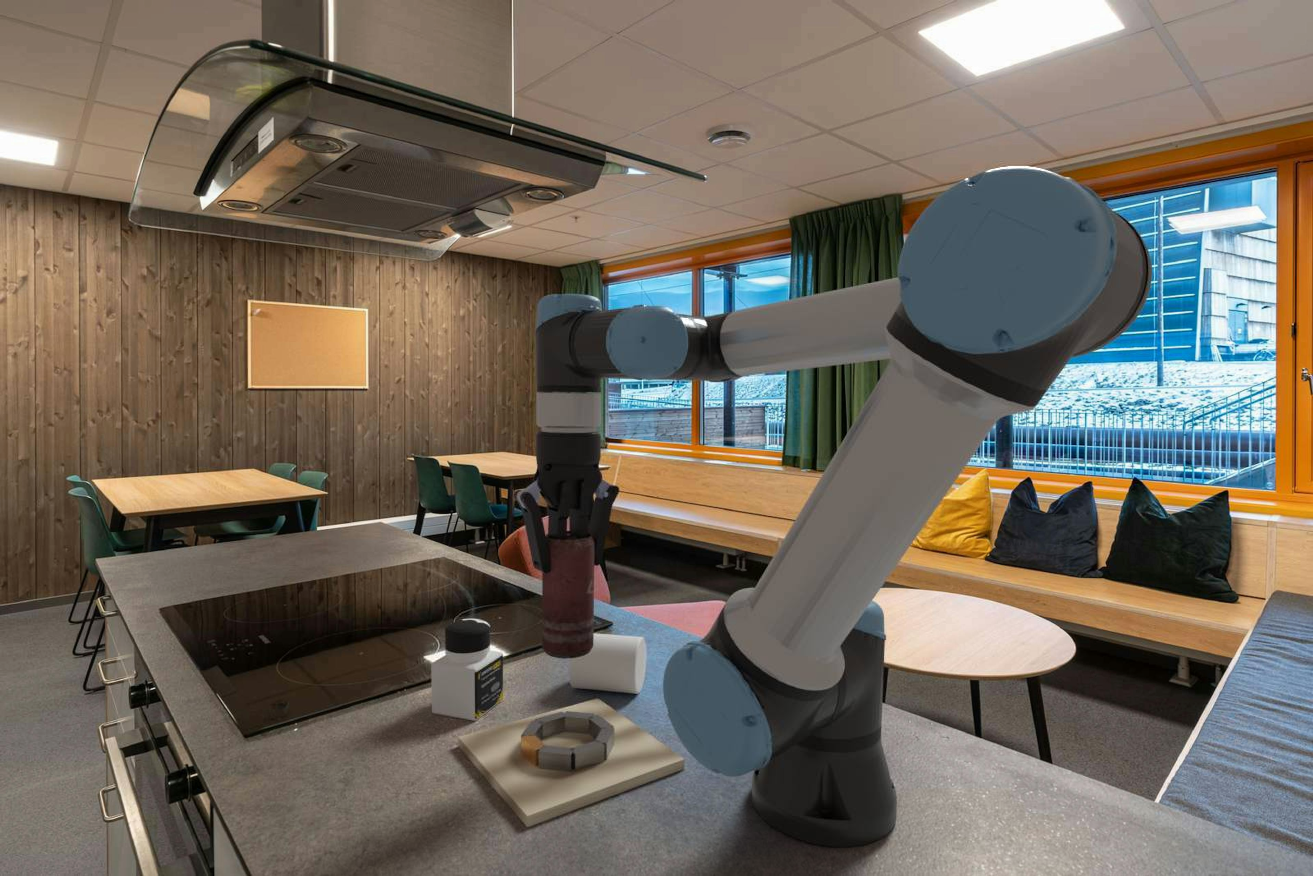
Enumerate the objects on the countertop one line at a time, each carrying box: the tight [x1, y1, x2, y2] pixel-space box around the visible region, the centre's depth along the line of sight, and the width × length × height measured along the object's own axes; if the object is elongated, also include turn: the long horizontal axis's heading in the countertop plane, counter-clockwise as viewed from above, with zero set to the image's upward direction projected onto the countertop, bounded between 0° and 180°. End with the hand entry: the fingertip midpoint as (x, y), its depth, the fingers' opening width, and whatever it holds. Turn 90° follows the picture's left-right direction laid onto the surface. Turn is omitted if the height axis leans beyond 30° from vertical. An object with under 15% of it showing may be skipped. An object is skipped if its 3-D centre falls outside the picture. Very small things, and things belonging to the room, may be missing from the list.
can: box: [541, 530, 595, 660], centre depth 85 cm, size 6×6×14 cm
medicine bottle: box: [430, 618, 504, 722], centre depth 99 cm, size 7×7×12 cm
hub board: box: [457, 697, 686, 828], centre depth 86 cm, size 20×20×1 cm
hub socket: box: [521, 711, 614, 772], centre depth 86 cm, size 10×10×2 cm
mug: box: [568, 633, 648, 695], centre depth 108 cm, size 12×10×8 cm
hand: (567, 626), depth 85 cm, fingers closed
